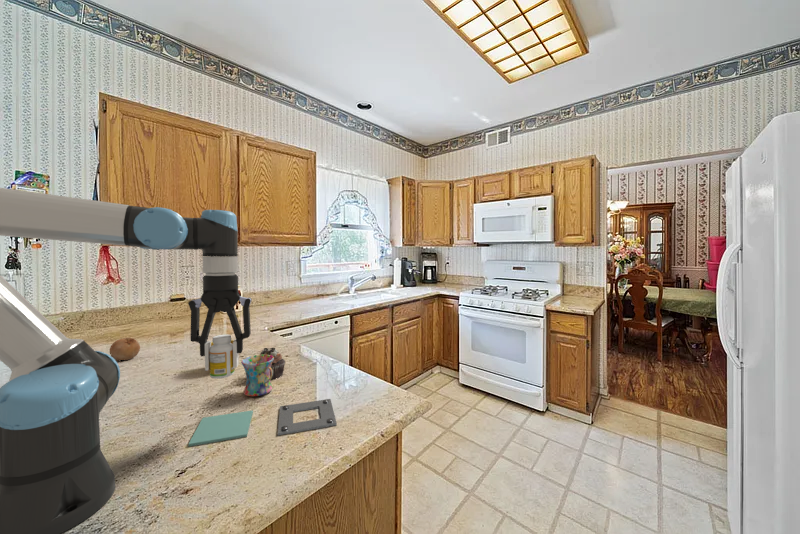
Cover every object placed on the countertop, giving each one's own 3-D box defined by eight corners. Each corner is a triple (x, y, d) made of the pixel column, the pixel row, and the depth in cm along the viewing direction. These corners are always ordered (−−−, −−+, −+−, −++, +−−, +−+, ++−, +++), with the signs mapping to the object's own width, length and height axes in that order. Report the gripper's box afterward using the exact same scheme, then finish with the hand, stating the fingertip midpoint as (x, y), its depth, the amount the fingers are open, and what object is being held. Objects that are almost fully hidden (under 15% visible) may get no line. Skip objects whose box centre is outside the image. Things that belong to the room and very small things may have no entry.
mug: (236, 394, 97) (235, 360, 97) (263, 383, 105) (262, 352, 105) (258, 404, 91) (257, 368, 90) (285, 392, 98) (285, 359, 98)
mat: (246, 436, 75) (246, 434, 75) (188, 446, 71) (188, 444, 71) (252, 412, 86) (252, 410, 86) (202, 419, 82) (202, 417, 82)
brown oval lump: (136, 365, 130) (147, 344, 130) (107, 366, 122) (118, 343, 122) (131, 353, 135) (141, 332, 135) (102, 353, 128) (113, 331, 127)
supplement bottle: (226, 369, 82) (226, 332, 81) (239, 373, 79) (238, 335, 78) (205, 376, 77) (204, 337, 77) (217, 381, 74) (216, 340, 74)
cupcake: (285, 379, 109) (285, 350, 109) (255, 383, 105) (254, 354, 105) (285, 369, 118) (284, 343, 117) (256, 373, 114) (256, 346, 114)
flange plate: (336, 425, 80) (336, 421, 80) (277, 435, 75) (277, 432, 75) (330, 400, 93) (330, 397, 93) (280, 408, 88) (280, 405, 88)
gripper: (262, 272, 83) (263, 358, 84) (182, 273, 77) (184, 366, 78) (260, 274, 76) (261, 368, 77) (170, 275, 70) (173, 377, 71)
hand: (222, 367), depth 78 cm, fingers closed on supplement bottle, 5 cm apart
